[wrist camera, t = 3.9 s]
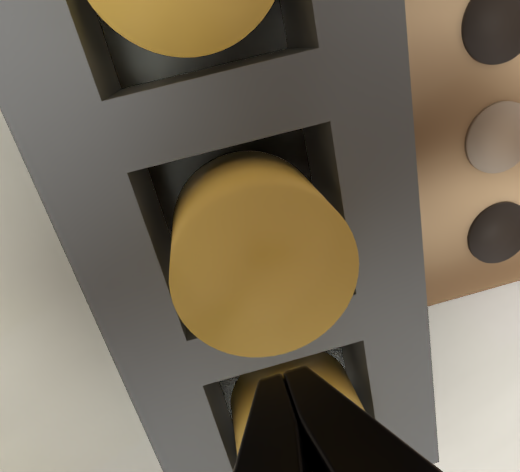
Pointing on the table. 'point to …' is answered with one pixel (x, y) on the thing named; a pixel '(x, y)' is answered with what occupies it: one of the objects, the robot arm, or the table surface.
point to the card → (466, 141)
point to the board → (210, 139)
